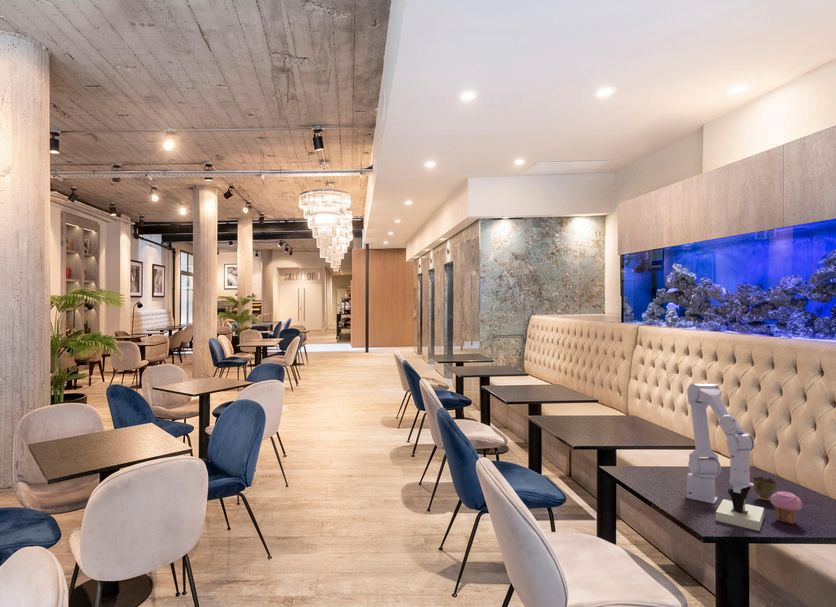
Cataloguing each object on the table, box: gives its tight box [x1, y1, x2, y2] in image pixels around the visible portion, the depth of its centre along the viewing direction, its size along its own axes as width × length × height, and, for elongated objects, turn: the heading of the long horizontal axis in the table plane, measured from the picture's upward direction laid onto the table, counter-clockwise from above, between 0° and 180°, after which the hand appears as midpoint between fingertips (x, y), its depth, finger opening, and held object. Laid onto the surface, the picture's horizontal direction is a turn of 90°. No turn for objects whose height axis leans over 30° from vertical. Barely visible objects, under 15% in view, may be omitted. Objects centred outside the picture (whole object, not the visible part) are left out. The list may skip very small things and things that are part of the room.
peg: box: [735, 500, 746, 515], centre depth 174 cm, size 3×3×8 cm
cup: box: [752, 475, 777, 502], centre depth 195 cm, size 8×7×8 cm
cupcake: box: [770, 491, 803, 525], centre depth 175 cm, size 9×9×10 cm
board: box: [715, 498, 765, 531], centre depth 176 cm, size 12×16×3 cm
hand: (739, 508), depth 174 cm, fingers open, 7 cm apart
